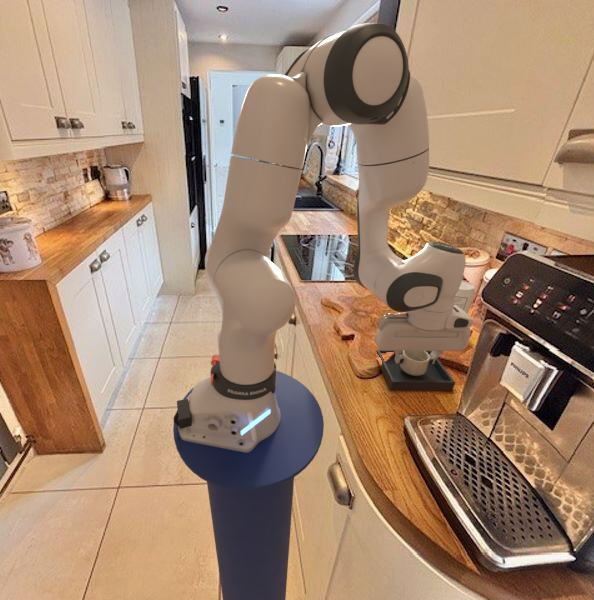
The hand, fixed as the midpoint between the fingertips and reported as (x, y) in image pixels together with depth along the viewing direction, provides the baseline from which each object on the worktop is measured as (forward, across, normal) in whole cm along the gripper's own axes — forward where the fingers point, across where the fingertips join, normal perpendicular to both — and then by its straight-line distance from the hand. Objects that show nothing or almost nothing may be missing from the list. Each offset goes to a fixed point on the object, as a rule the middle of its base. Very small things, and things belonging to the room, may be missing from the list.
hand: (414, 362), depth 79 cm
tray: (+3, 0, 0) cm, 3 cm away
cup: (+2, 0, 0) cm, 2 cm away
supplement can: (+4, +18, +20) cm, 27 cm away
